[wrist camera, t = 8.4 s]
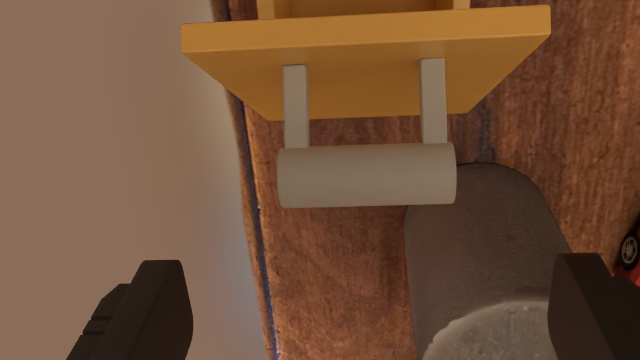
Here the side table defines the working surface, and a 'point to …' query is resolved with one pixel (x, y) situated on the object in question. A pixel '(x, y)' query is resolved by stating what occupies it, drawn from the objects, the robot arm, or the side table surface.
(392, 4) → the case
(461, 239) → the pillar candle
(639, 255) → the toy car
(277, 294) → the side table surface
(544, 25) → the lid
